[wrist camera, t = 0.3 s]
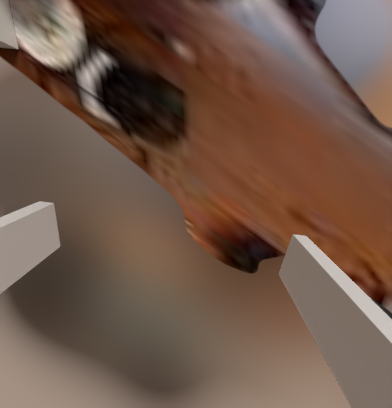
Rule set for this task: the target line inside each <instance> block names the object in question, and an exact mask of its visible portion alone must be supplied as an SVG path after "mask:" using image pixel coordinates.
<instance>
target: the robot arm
mask: <svg viewBox="0 0 392 408" xmlns="http://www.w3.org/2000/svg"><path fill="white" fill-rule="evenodd" d="M59 247H60V240H59V234H58V227H57V220H56V214H55V207H54V203H49V202H41V201H39V202H37V203H34V204H32V205H29V206H27V207H24V208H22V209H20V210H17V211H15V212H12V213H10V214H7V215H5V216H2V217H0V293H2V292H3V291H4V290H6V289H7V288H8V287H9V286H11V285H12V284H13V283H14V282H16V281H17V280H18V279H20V278H21V277H22V276H23V275H25V274H26V273H27V272H28V271H30V270H31V269H32V268H33V267H35V266H36V265H37V264H39V263H40V262H41V261H42V260H44V259H45V258H46V257H48V256H49V255H50V254H51V253H53V252H54V251H55V250H56V249H58V248H59ZM279 276H280V278H281V280H282V281H283V283H284V285H285V287H286V289H287V291H288V292H289V294H290V296H291V298H292V299H293V301H294V303H295V305H296V307H297V309H298V311H299V313H300V314H301V316H302V318H303V320H304V322H305V323H306V325H307V327H308V329H309V331H310V333H311V334H312V336H313V338H314V340H315V342H316V344H317V345H318V347H319V349H320V351H321V353H322V355H323V356H324V358H325V360H326V362H327V364H328V366H329V367H330V369H331V371H332V373H333V375H334V377H335V378H336V380H337V382H338V384H339V386H340V387H341V389H342V391H343V393H344V395H345V397H346V398H347V400H348V402H349V404H350V406H351V407H352V408H392V313H391V312H390V311H388V310H387V309H386V308H384V307H383V306H381V305H380V304H378V303H377V302H376V301H374V300H373V299H370V298H369V297H368V296H367V295H366V294H365V293H364V292H363V291H362V290H361V289H360V288H359V287H358V286H357V285H356V284H355V283H354V282H353V281H352V280H351V279H350V278H349V277H348V276H347V275H346V274H345V273H344V272H343V271H342V270H341V269H340V268H339V267H338V266H337V265H335V264H334V263H333V262H332V261H331V260H330V259H329V258H328V257H327V256H326V255H325V254H324V253H323V252H322V251H321V250H320V249H319V248H318V247H317V246H316V245H315V244H314V243H313V242H312V241H311V240H310V239H309V238H308V237H307V236H301V235H294V234H293V235H292V238H291V241H290V243H289V246H288V249H287V252H286V255H285V258H284V260H283V263H282V266H281V269H280V272H279Z"/></svg>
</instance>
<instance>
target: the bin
mask: <svg viewBox="0 0 392 408" xmlns="http://www.w3.org/2000/svg"><path fill="white" fill-rule="evenodd" d="M0 48H8V49H18V44H17V39H16V34H15V29H14V24H13V19H12V14H11V9H10V4H9V0H0Z"/></svg>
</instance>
